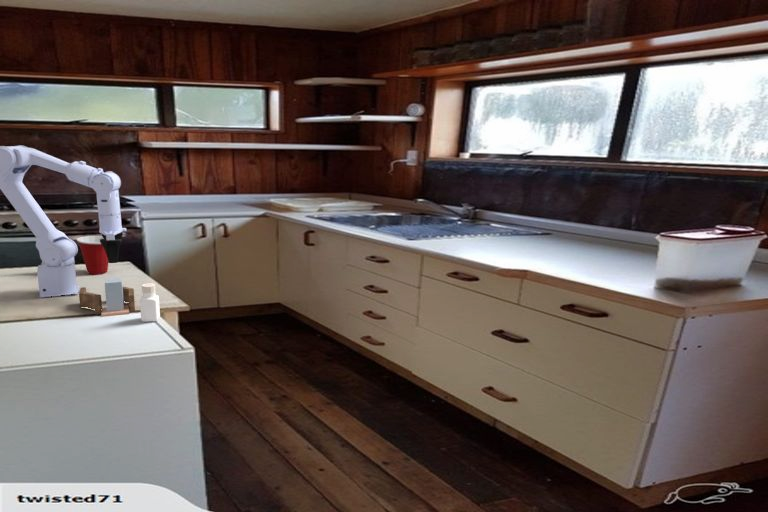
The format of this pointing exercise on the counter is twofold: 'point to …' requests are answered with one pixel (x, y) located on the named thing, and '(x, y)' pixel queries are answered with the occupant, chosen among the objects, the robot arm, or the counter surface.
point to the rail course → (96, 303)
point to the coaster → (125, 311)
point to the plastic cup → (93, 254)
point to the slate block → (114, 294)
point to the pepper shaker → (149, 303)
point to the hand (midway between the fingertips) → (113, 259)
